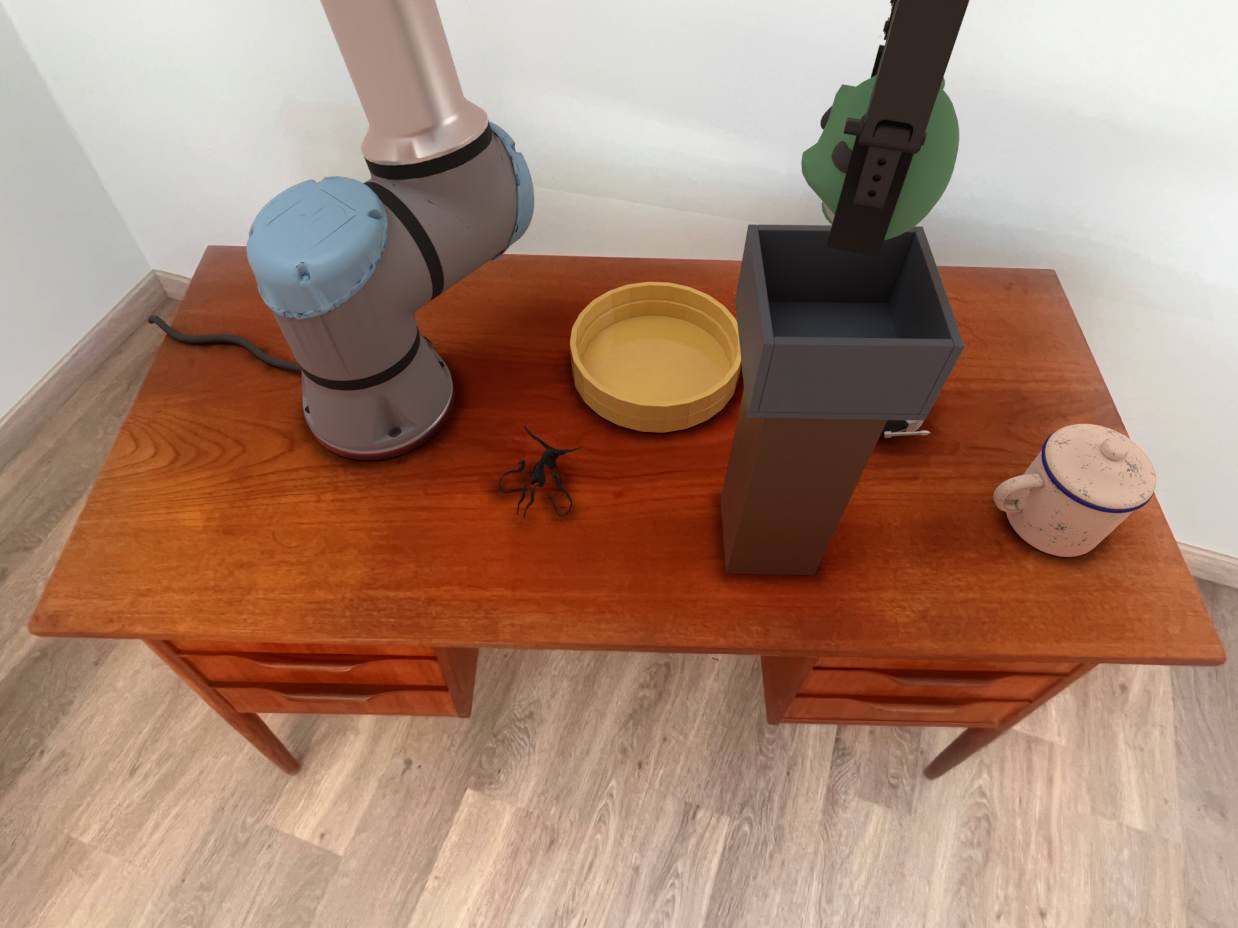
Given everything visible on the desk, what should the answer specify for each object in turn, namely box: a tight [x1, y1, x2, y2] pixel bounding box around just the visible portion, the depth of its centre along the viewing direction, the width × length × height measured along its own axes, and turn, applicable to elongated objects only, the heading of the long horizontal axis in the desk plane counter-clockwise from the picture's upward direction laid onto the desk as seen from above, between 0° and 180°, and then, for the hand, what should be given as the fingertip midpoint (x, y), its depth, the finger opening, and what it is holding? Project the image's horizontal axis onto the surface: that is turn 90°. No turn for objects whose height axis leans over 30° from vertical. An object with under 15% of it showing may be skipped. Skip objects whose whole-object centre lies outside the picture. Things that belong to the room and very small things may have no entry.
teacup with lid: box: [992, 423, 1157, 558], centre depth 66 cm, size 12×9×12 cm
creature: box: [498, 425, 582, 519], centre depth 70 cm, size 8×5×8 cm
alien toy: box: [800, 76, 960, 240], centre depth 38 cm, size 7×8×10 cm
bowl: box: [569, 281, 742, 434], centre depth 80 cm, size 18×18×4 cm
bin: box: [720, 223, 966, 576], centre depth 57 cm, size 11×11×31 cm
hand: (862, 204), depth 41 cm, fingers closed on alien toy, 7 cm apart
